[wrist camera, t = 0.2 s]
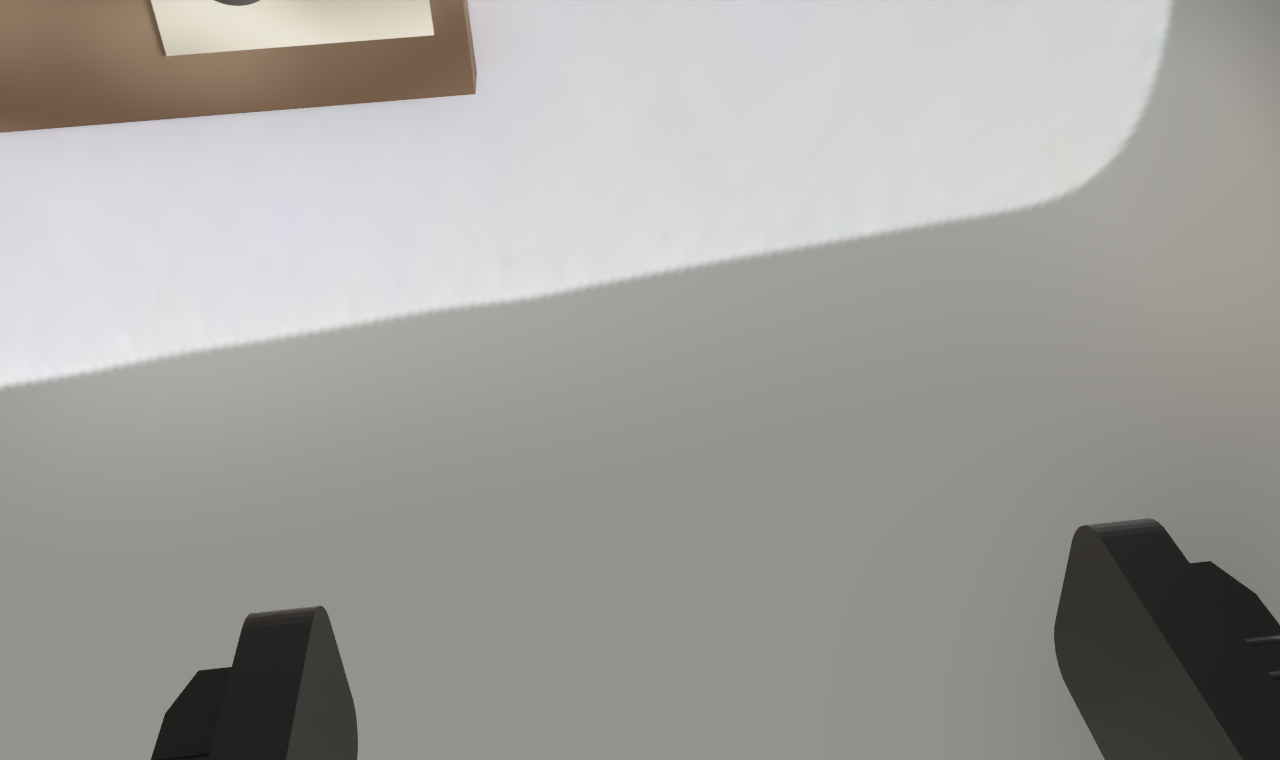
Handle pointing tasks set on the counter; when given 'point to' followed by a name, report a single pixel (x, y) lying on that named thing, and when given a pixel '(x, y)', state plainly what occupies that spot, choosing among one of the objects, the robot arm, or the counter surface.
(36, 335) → the counter surface
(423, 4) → the post board
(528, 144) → the counter surface
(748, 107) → the counter surface
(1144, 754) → the robot arm
